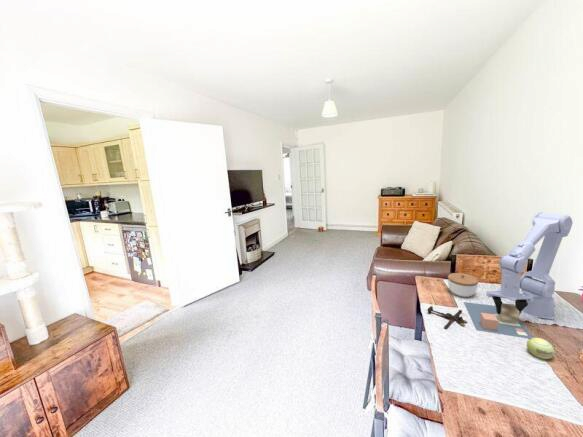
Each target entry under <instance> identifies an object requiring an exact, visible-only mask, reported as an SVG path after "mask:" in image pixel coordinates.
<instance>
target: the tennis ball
mask: <svg viewBox="0 0 583 437" xmlns="http://www.w3.org/2000/svg"><path fill="white" fill-rule="evenodd" d="M526 348H527V349H528V352H529V353H530V354H532V356H534V357H536V358H539V359H541V360H549V359H552V358H553V357H554V355H555V348H554V346H553V345H552V343H550V342H549V341H547V340H546V339H543V338H541V337H534V338H532V339H528V341H526Z"/></svg>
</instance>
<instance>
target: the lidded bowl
mask: <svg viewBox="0 0 583 437" xmlns="http://www.w3.org/2000/svg"><path fill="white" fill-rule="evenodd" d="M447 283H448V288H449V290H450V291H451V292H452V293H453V294H454V295H456V296H458V297H462V298H468V297H472V296H474V295H475V293H476V292H477V290H478V286H479V285H478V284H479V280H478V278H477V277H476V276H473V275H471V274H469V273H463V272H451V273H450V274H448V275H447Z"/></svg>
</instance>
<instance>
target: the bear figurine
mask: <svg viewBox="0 0 583 437" xmlns="http://www.w3.org/2000/svg"><path fill="white" fill-rule="evenodd" d="M462 312H463V310H462V309H459V310H458V311H457V312H455V314H454V315H453V314H451V313H449V312H447V313H444V312H440V311H437V310H434V306H432V305H431V306H429V307H428V308H427V313H428V315H435V316H436V317H439V318H443V319H445V320H448V322H447V323H446V324H445V325H444V326H443V328H444V329H446V330H447V329H448V328H449V327H450V326H451V325H452V324H453V323H454V322H456V323H457V324H458V325H460V326H462V327H464V326H466V325H465V323H468V321H467V320H464V318H463V316H460V314H461V313H462Z"/></svg>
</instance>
